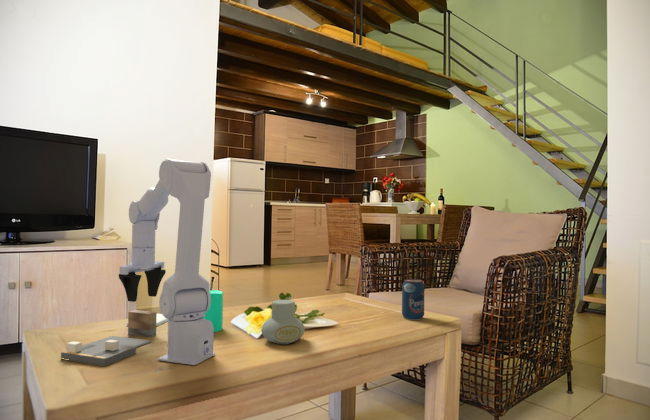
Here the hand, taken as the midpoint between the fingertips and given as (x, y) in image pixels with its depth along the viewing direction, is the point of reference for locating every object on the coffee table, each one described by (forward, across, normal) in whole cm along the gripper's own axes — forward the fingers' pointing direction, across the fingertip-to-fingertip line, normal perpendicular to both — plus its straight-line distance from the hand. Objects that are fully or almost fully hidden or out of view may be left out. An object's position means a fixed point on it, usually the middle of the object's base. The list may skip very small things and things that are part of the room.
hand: (142, 298), depth 116 cm
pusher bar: (+10, 0, 0) cm, 10 cm away
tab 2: (+8, +17, +6) cm, 20 cm away
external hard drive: (+10, -12, -7) cm, 17 cm away
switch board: (+9, +18, +4) cm, 21 cm away
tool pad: (+9, +8, +1) cm, 12 cm away
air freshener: (+10, -8, +37) cm, 39 cm away
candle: (+10, -11, +14) cm, 20 cm away
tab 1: (+8, +21, 0) cm, 22 cm away
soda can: (+10, -46, +65) cm, 80 cm away
